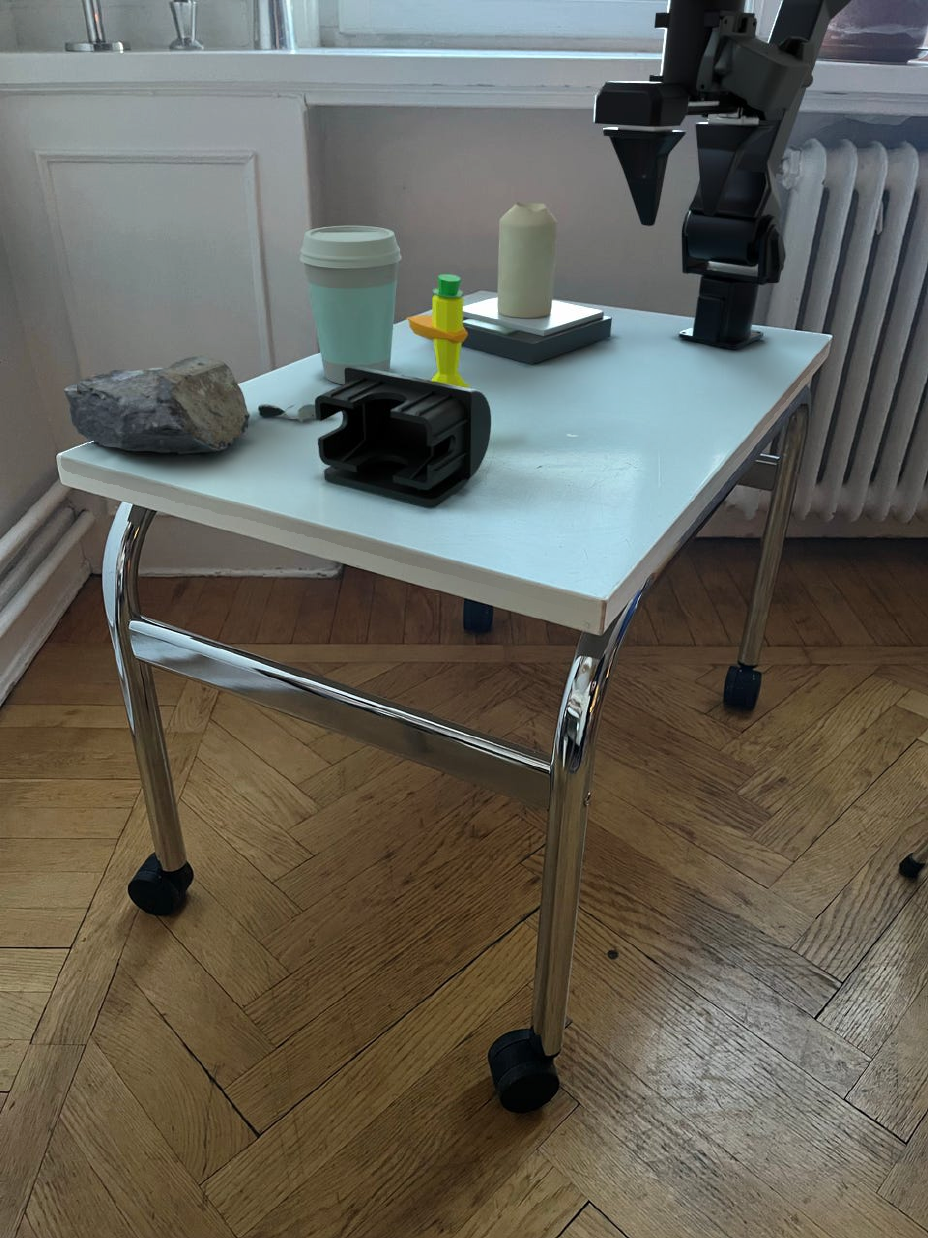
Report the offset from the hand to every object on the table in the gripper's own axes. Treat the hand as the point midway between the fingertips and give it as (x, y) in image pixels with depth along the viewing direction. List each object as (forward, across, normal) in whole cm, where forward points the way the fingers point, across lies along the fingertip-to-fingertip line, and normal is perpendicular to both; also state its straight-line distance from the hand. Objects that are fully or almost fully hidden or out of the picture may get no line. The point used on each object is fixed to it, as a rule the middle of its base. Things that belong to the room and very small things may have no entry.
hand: (679, 219), depth 77 cm
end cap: (+14, -33, -2) cm, 35 cm away
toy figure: (+14, -26, +2) cm, 29 cm away
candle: (+10, -1, +16) cm, 19 cm away
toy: (+13, -34, +13) cm, 38 cm away
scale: (+13, -1, +17) cm, 21 cm away
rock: (+14, -45, +16) cm, 50 cm away
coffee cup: (+13, -21, +18) cm, 31 cm away
